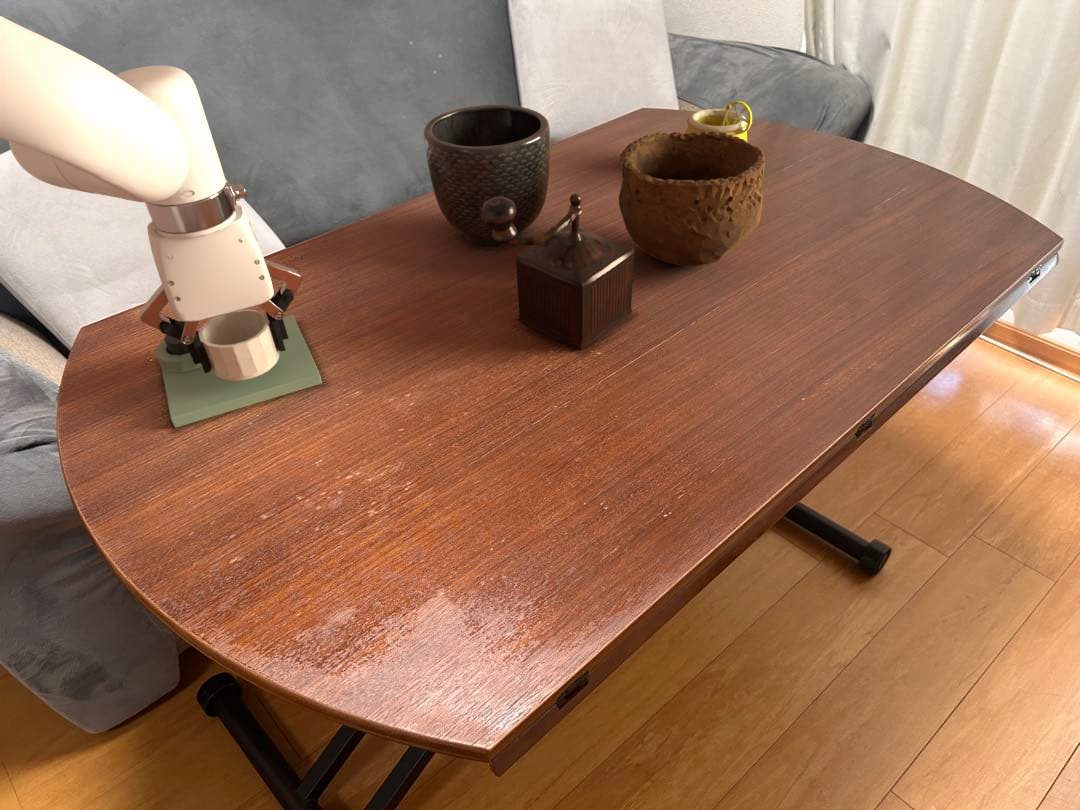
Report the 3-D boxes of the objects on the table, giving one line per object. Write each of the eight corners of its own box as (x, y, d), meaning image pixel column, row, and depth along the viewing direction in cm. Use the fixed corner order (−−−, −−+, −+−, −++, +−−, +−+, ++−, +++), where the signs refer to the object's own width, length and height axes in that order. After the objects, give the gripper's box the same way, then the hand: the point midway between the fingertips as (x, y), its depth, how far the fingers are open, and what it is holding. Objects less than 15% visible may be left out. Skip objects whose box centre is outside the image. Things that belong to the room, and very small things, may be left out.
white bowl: (217, 388, 81) (203, 354, 78) (207, 353, 86) (194, 320, 83) (285, 368, 83) (275, 334, 80) (272, 335, 88) (262, 302, 85)
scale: (174, 428, 81) (164, 407, 79) (161, 360, 91) (152, 339, 89) (322, 383, 86) (316, 362, 84) (295, 323, 96) (289, 303, 94)
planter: (531, 267, 105) (526, 154, 94) (418, 252, 109) (401, 143, 99) (565, 213, 117) (564, 108, 107) (463, 202, 122) (452, 100, 111)
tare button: (171, 359, 86) (165, 346, 85) (168, 344, 89) (163, 332, 87) (200, 351, 87) (195, 338, 86) (196, 337, 90) (191, 324, 88)
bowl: (588, 254, 107) (589, 150, 97) (680, 214, 116) (689, 115, 106) (686, 308, 95) (698, 196, 86) (780, 259, 104) (801, 153, 95)
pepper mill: (565, 286, 101) (563, 153, 89) (633, 314, 95) (641, 176, 83) (484, 339, 92) (470, 200, 80) (554, 373, 86) (550, 229, 74)
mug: (673, 154, 133) (679, 84, 126) (735, 151, 134) (744, 80, 126) (689, 184, 124) (696, 110, 116) (755, 180, 124) (767, 106, 116)
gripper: (274, 174, 78) (313, 317, 90) (92, 212, 73) (158, 360, 84) (290, 201, 73) (329, 350, 84) (94, 245, 67) (165, 398, 79)
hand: (243, 354), depth 84 cm, fingers closed on white bowl, 7 cm apart
